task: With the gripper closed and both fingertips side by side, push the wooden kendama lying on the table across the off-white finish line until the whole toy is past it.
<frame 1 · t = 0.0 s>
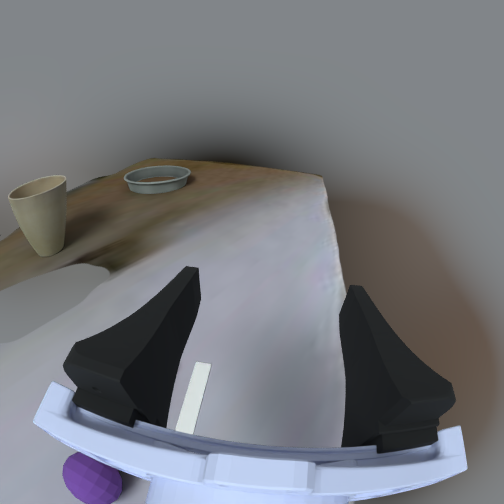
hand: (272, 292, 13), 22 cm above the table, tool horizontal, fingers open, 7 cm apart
cake pan: (157, 185, 97), on the table
kendama: (128, 438, 23), on the table
finish line: (178, 452, 23), on the table
plant pot: (51, 250, 54), on the table
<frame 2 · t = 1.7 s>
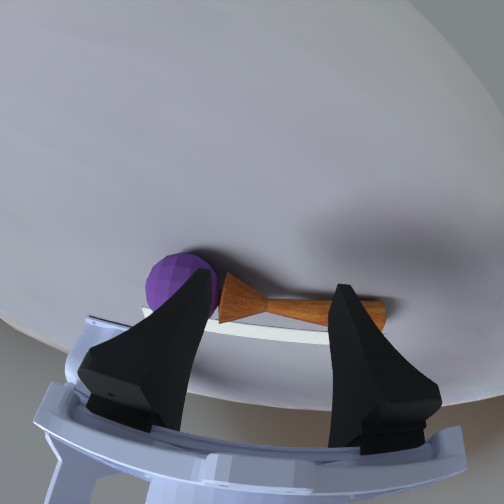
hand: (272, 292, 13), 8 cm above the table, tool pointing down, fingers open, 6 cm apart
kendama: (272, 284, 25), on the table
finish line: (263, 332, 28), on the table
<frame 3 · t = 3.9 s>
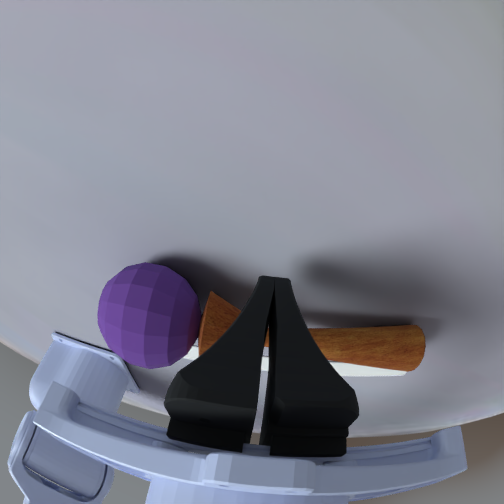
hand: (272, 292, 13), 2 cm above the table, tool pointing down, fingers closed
kendama: (274, 305, 18), on the table, touching gripper
finish line: (260, 362, 21), on the table
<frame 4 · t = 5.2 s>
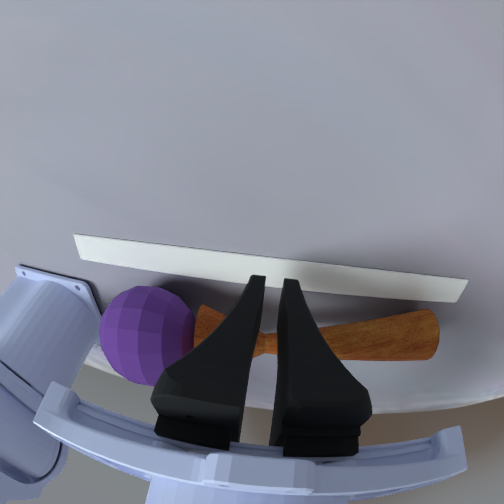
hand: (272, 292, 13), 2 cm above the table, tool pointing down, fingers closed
kendama: (273, 300, 16), on the table, touching gripper
finish line: (273, 272, 16), on the table
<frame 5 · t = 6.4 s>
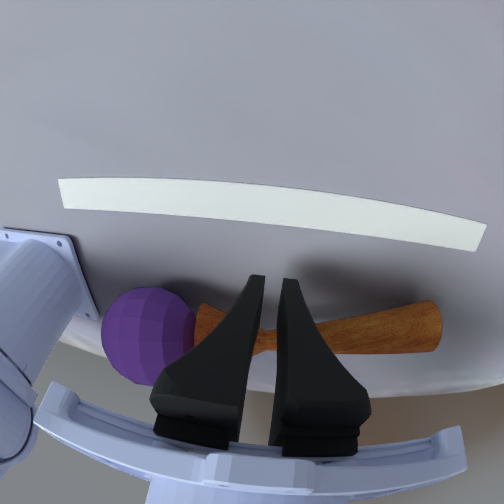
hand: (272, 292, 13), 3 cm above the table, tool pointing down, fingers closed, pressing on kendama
kendama: (274, 295, 16), point 1 cm above the table, touching gripper
finish line: (275, 205, 14), on the table
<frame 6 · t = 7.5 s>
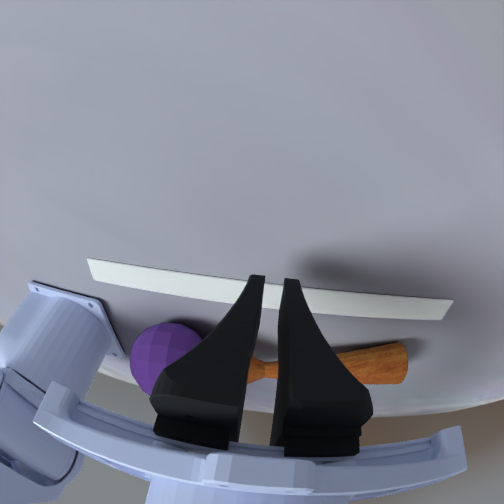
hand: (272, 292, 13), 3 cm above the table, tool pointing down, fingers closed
kendama: (271, 341, 21), on the table
finish line: (271, 296, 17), on the table
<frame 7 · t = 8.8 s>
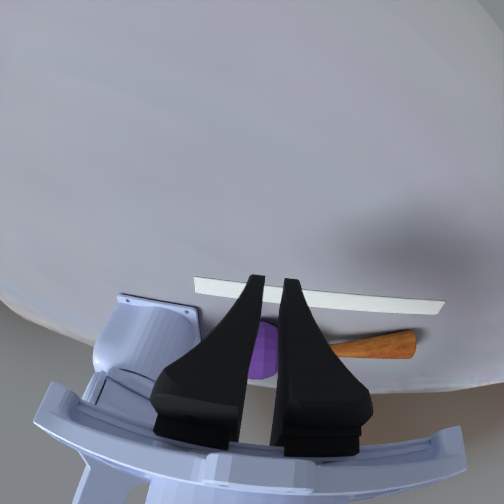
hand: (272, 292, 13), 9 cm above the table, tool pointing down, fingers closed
kendama: (325, 330, 29), on the table
finish line: (331, 300, 26), on the table
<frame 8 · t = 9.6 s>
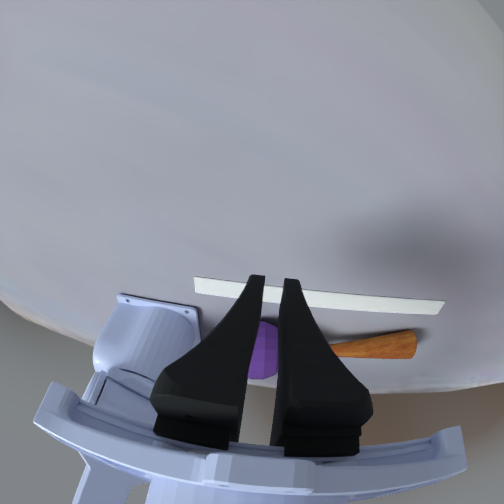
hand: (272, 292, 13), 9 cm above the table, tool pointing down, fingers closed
kendama: (325, 330, 29), on the table
finish line: (331, 300, 26), on the table
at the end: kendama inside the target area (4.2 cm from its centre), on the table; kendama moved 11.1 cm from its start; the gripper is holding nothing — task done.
